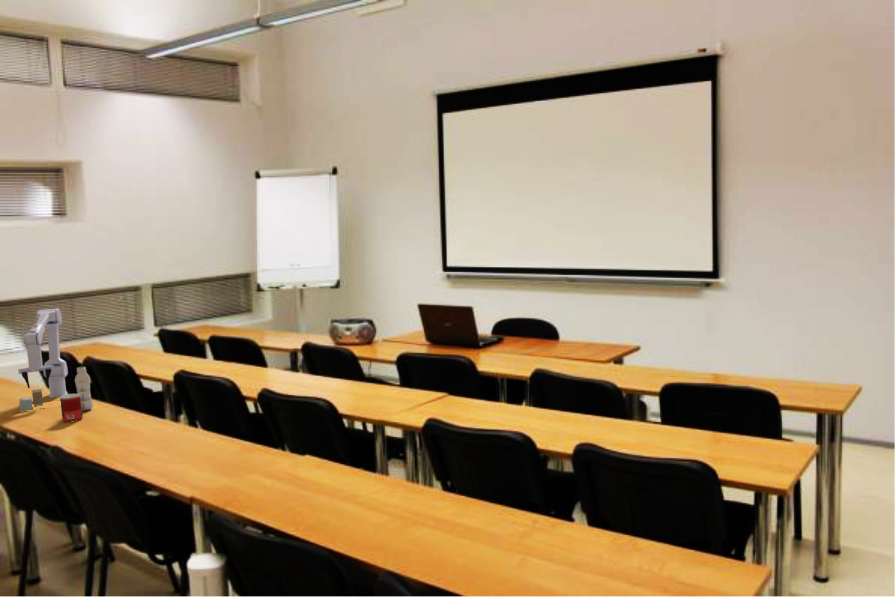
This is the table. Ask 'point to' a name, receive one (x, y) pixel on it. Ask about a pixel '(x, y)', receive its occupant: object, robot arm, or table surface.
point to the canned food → (71, 407)
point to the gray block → (25, 404)
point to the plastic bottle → (83, 388)
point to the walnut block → (37, 397)
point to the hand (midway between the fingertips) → (38, 386)
